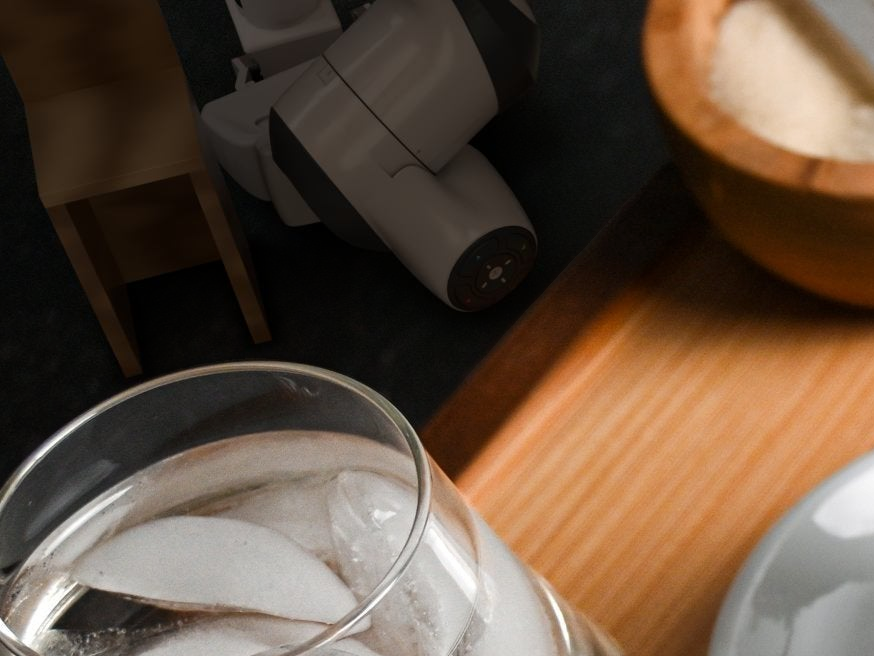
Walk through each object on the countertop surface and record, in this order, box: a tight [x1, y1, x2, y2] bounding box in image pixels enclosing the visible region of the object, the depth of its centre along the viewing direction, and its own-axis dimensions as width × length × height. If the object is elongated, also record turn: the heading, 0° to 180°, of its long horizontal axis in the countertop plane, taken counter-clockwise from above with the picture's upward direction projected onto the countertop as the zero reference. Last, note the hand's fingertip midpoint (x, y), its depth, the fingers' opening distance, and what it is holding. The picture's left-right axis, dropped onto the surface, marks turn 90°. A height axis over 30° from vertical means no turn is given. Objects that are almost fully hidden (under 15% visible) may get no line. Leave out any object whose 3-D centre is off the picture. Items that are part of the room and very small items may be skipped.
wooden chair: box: [0, 0, 273, 378], centre depth 121 cm, size 10×10×30 cm
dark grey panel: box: [225, 0, 344, 79], centre depth 141 cm, size 7×7×12 cm
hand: (302, 39), depth 139 cm, fingers open, 8 cm apart
